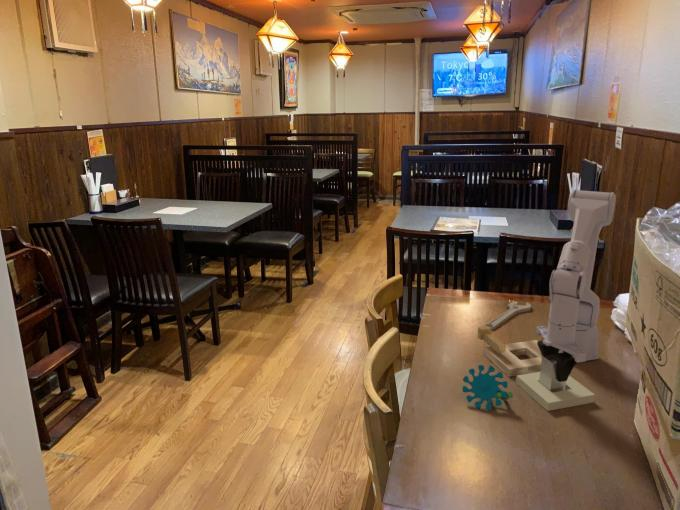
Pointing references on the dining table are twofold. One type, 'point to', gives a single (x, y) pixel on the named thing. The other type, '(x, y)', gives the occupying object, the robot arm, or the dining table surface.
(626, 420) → the dining table surface
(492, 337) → the tan headed bar
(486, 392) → the teal virus model
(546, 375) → the peg
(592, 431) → the dining table surface
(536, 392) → the cream square hole plate
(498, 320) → the adjustable wrench
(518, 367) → the socket block
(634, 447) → the dining table surface
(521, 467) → the dining table surface
